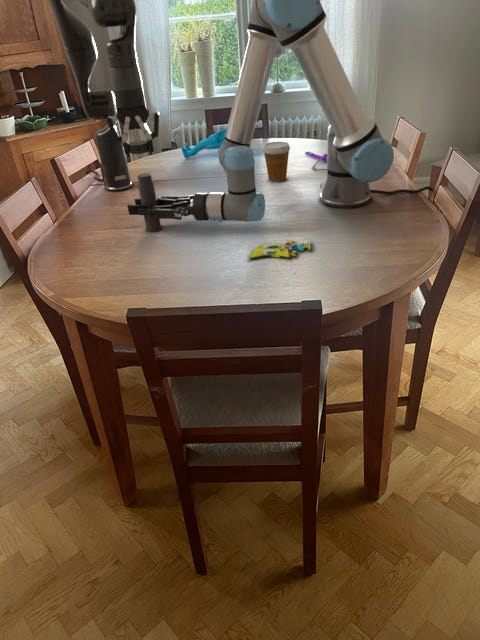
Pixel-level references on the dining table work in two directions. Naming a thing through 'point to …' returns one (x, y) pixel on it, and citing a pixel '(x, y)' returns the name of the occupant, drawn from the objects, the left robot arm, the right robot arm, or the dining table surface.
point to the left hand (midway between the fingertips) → (140, 154)
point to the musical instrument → (318, 158)
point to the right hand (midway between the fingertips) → (132, 206)
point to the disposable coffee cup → (276, 160)
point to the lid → (138, 147)
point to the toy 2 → (279, 250)
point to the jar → (148, 199)
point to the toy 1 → (205, 144)
